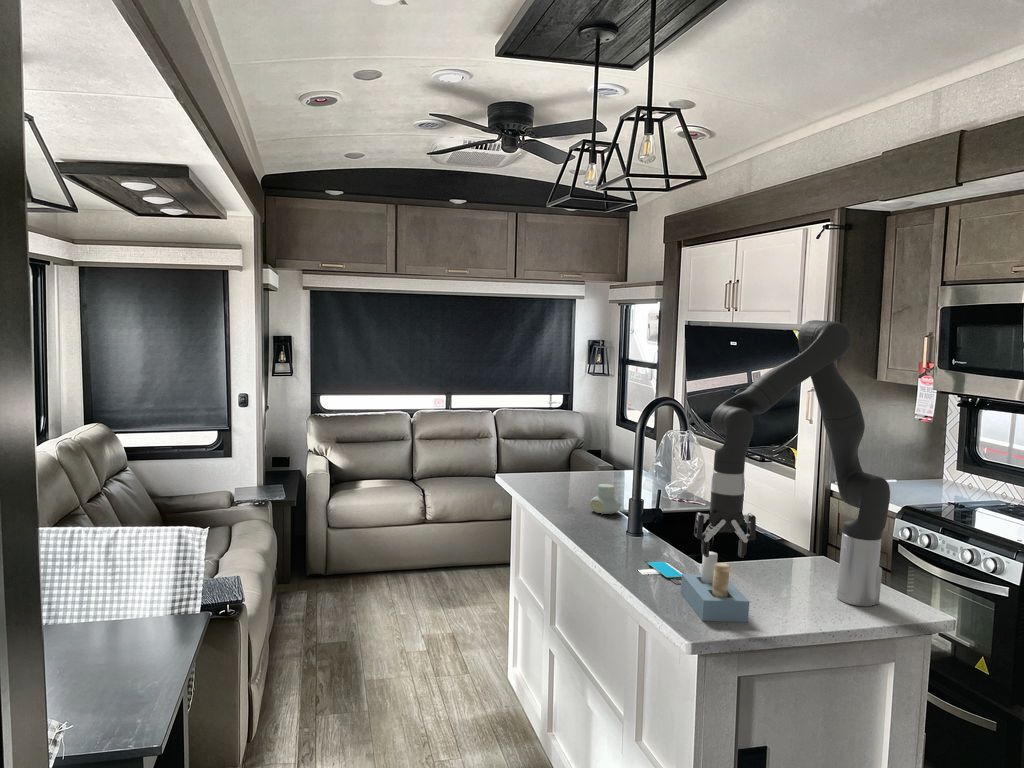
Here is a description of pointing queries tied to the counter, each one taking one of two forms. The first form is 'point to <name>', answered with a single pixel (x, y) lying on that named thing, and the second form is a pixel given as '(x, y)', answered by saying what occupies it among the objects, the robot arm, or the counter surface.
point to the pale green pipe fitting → (605, 500)
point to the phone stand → (663, 570)
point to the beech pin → (720, 580)
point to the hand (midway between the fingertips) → (723, 556)
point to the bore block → (704, 603)
